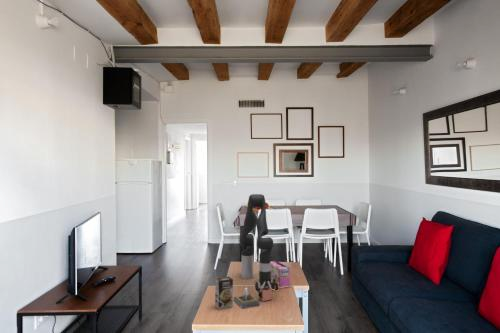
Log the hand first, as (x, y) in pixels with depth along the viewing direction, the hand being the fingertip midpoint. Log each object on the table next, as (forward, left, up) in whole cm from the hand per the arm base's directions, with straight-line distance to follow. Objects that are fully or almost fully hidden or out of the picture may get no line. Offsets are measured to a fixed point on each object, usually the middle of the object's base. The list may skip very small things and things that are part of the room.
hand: (265, 296), depth 188 cm
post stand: (0, -13, -2) cm, 13 cm away
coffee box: (-1, -27, -2) cm, 27 cm away
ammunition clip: (-13, +11, -2) cm, 17 cm away
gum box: (-23, +22, -2) cm, 32 cm away
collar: (0, 0, -1) cm, 1 cm away
